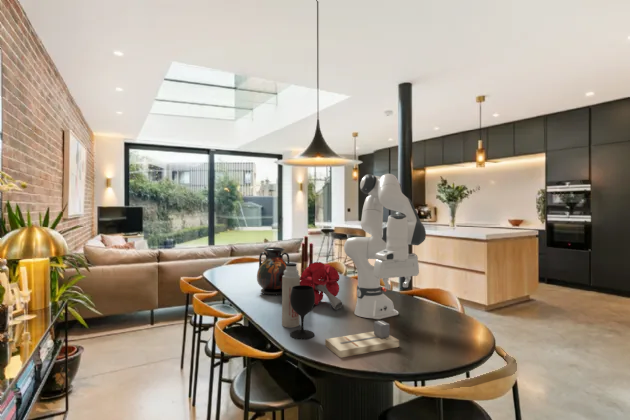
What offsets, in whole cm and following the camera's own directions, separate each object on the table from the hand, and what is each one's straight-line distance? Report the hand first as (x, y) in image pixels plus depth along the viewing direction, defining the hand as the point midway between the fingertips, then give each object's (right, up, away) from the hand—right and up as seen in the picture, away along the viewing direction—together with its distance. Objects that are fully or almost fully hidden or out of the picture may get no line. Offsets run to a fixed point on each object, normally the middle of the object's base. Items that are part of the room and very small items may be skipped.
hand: (396, 287), depth 142 cm
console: (-15, -21, -7) cm, 27 cm away
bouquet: (-30, -21, +51) cm, 63 cm away
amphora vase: (-59, -20, +77) cm, 99 cm away
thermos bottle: (-44, -21, +17) cm, 52 cm away
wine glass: (-39, -21, +5) cm, 44 cm away
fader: (-7, -18, -3) cm, 20 cm away
